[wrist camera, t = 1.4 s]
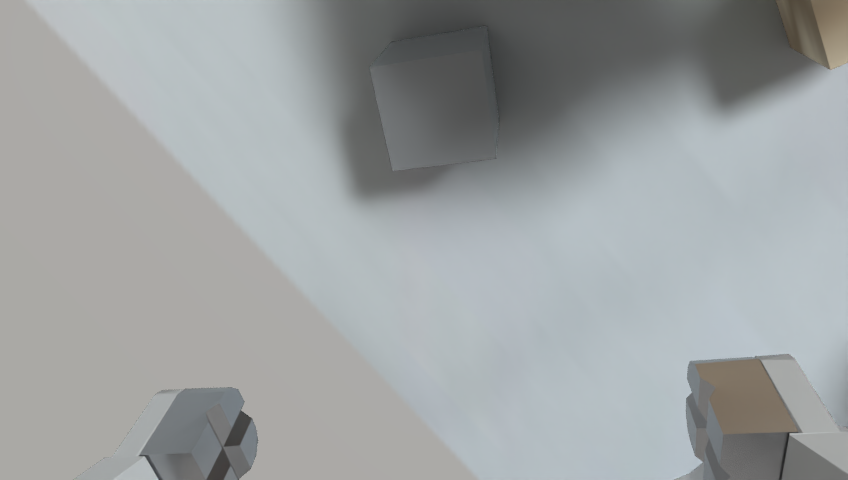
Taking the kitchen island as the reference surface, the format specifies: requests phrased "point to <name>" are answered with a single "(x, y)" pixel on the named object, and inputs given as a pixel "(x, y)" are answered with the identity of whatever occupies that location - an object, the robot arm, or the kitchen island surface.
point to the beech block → (817, 29)
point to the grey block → (437, 99)
